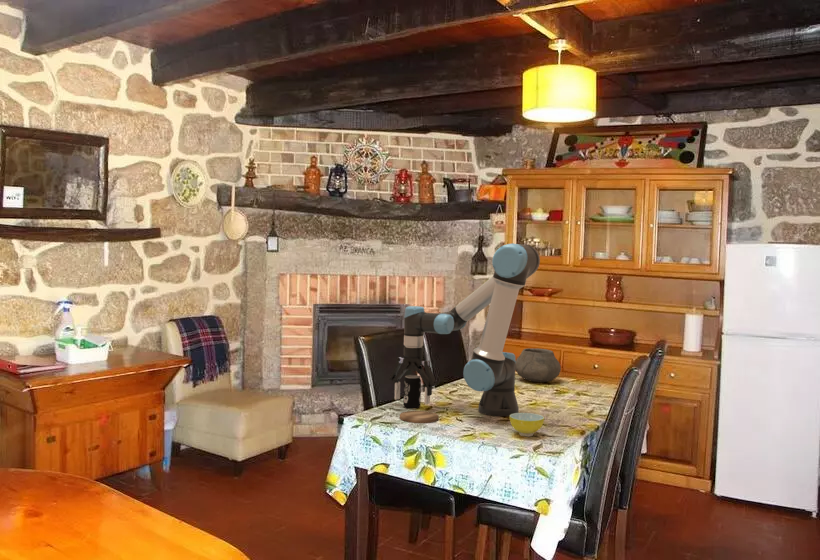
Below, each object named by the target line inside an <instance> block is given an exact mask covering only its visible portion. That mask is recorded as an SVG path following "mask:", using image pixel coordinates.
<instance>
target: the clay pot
mask: <svg viewBox="0 0 820 560" xmlns="http://www.w3.org/2000/svg"><path fill="white" fill-rule="evenodd" d="M515 360H516V366H515V373H517V374H518V376H520V377H521V378H523V379H524V380H526V381H528V382H533V383H546V382H550V381H553V380H555V379H556V378H557V377H558V376H559V375H560V373H561V370H562V367H561V363H560V362H559V360H558V359H557V358H556V356H555V353H554V351H553V350H550V349H546V348H538V347H537V348H528V347H527V348H524V349H523V350H522V351H521V353H520V354H519V356H518V357H517V358H515Z"/></svg>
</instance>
